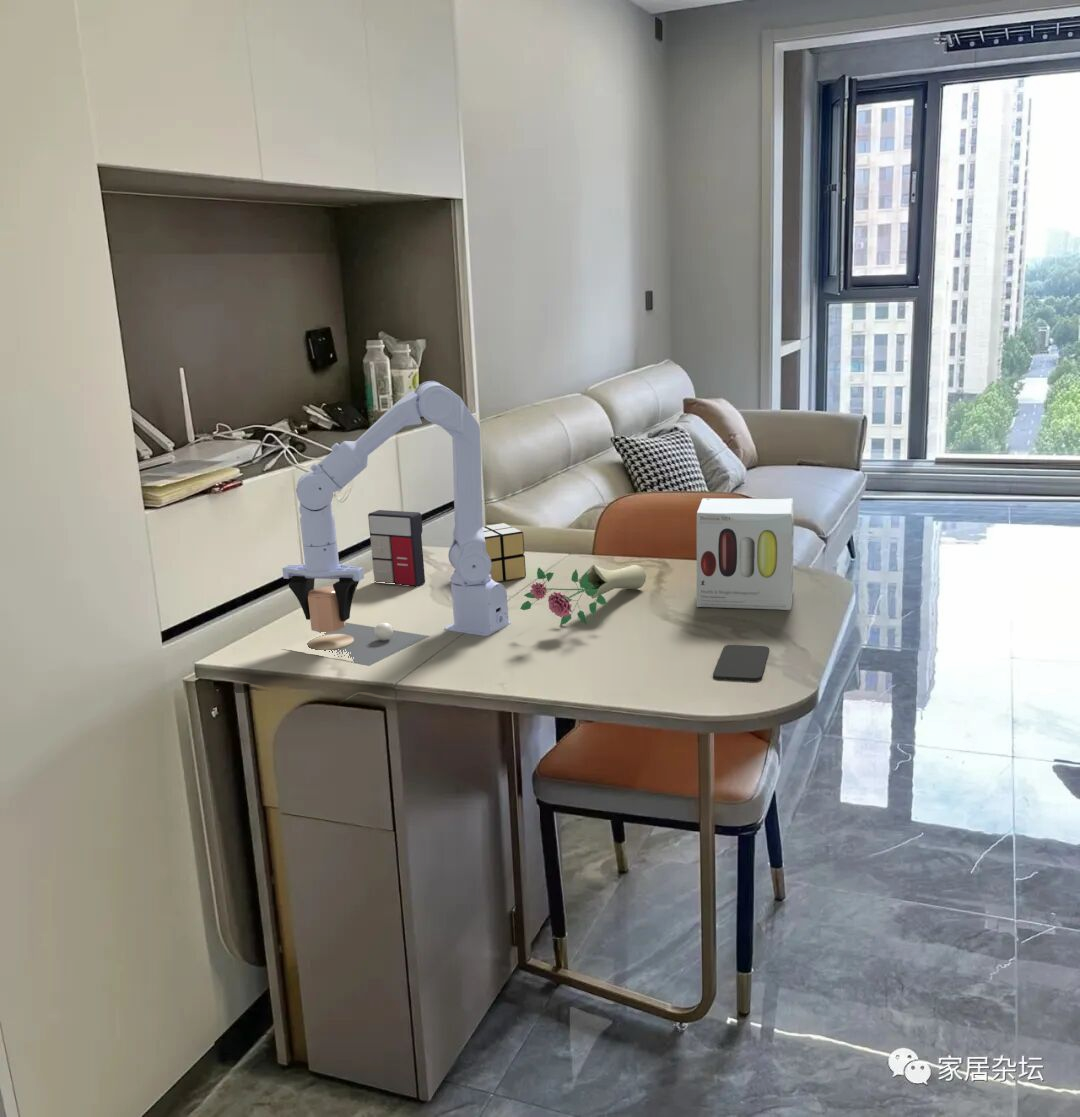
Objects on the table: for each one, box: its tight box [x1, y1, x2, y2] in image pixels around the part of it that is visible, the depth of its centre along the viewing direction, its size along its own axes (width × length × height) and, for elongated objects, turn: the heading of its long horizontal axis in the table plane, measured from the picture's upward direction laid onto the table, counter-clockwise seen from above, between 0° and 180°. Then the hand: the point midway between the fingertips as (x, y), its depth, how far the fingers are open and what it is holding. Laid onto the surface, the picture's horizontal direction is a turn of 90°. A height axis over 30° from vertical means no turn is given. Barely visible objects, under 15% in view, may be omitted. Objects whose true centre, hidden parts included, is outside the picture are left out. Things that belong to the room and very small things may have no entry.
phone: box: [712, 644, 770, 683], centre depth 168 cm, size 7×1×15 cm
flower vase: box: [519, 564, 647, 626], centre depth 196 cm, size 12×12×35 cm
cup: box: [308, 585, 347, 633], centre depth 186 cm, size 6×6×6 cm
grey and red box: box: [367, 509, 426, 588], centre depth 222 cm, size 11×4×15 cm, turn 62°
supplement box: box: [696, 497, 795, 611], centre depth 198 cm, size 17×13×18 cm
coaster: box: [307, 634, 354, 651], centre depth 188 cm, size 8×8×1 cm
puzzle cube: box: [482, 522, 527, 583], centre depth 224 cm, size 10×10×10 cm
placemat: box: [322, 622, 430, 667], centre depth 187 cm, size 20×16×1 cm
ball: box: [374, 622, 394, 641], centre depth 187 cm, size 3×3×3 cm
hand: (327, 618), depth 186 cm, fingers closed on cup, 6 cm apart
